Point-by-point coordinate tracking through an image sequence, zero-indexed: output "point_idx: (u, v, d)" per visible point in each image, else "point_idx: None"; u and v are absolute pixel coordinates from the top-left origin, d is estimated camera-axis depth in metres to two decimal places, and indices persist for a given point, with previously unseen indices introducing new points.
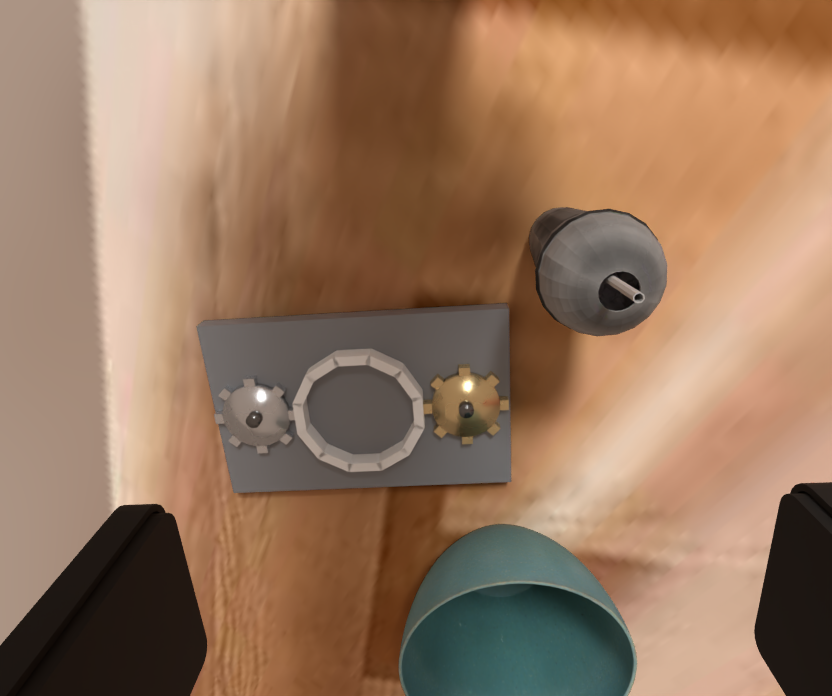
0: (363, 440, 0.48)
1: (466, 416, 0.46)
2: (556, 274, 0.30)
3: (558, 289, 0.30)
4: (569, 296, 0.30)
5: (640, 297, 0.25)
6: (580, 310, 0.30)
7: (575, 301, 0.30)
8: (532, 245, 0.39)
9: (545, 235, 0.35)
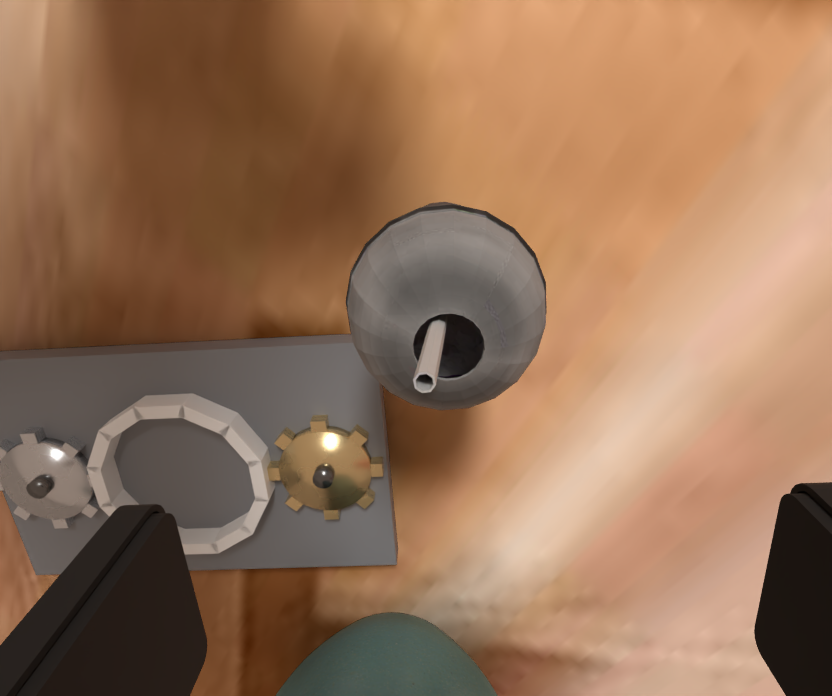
0: (196, 511, 0.36)
1: (323, 486, 0.33)
2: (357, 313, 0.18)
3: (361, 338, 0.18)
4: (375, 350, 0.18)
5: (435, 377, 0.13)
6: (392, 375, 0.18)
7: (383, 360, 0.18)
8: None
9: None
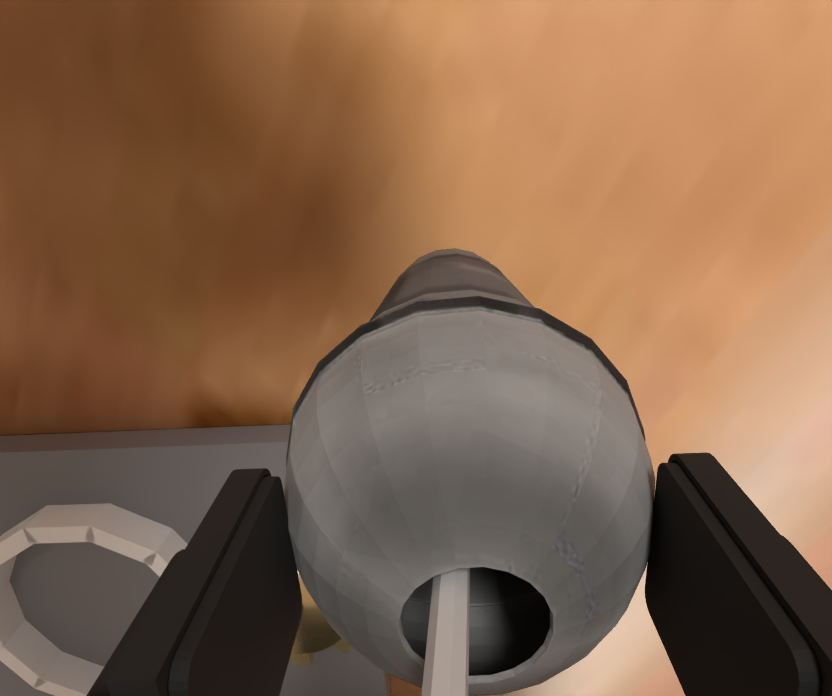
0: None
1: None
2: (293, 516, 0.09)
3: (300, 564, 0.09)
4: (327, 598, 0.09)
5: None
6: (360, 650, 0.09)
7: (340, 624, 0.09)
8: None
9: None
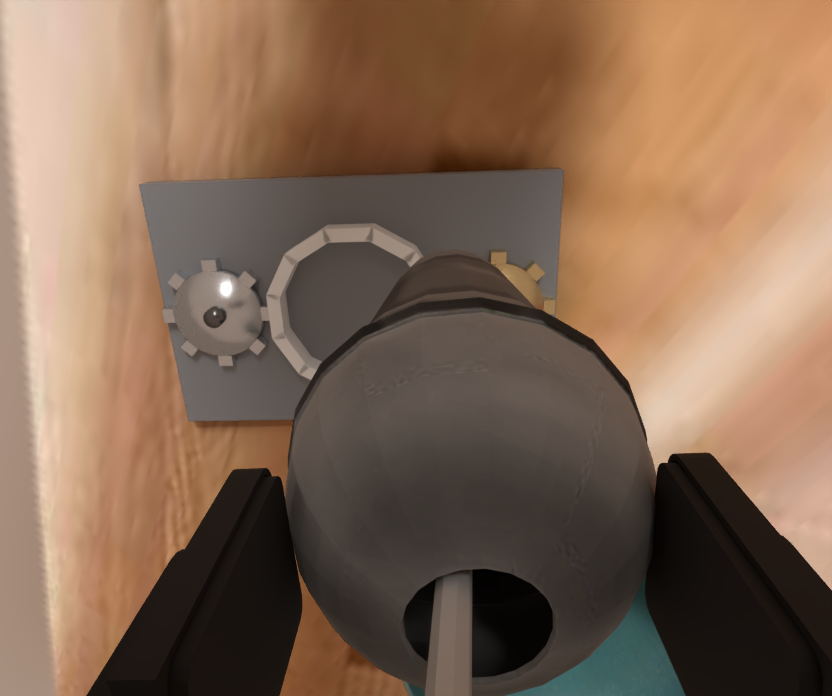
0: None
1: None
2: (295, 517, 0.09)
3: (302, 565, 0.09)
4: (328, 600, 0.09)
5: None
6: (362, 651, 0.09)
7: (342, 625, 0.09)
8: None
9: None
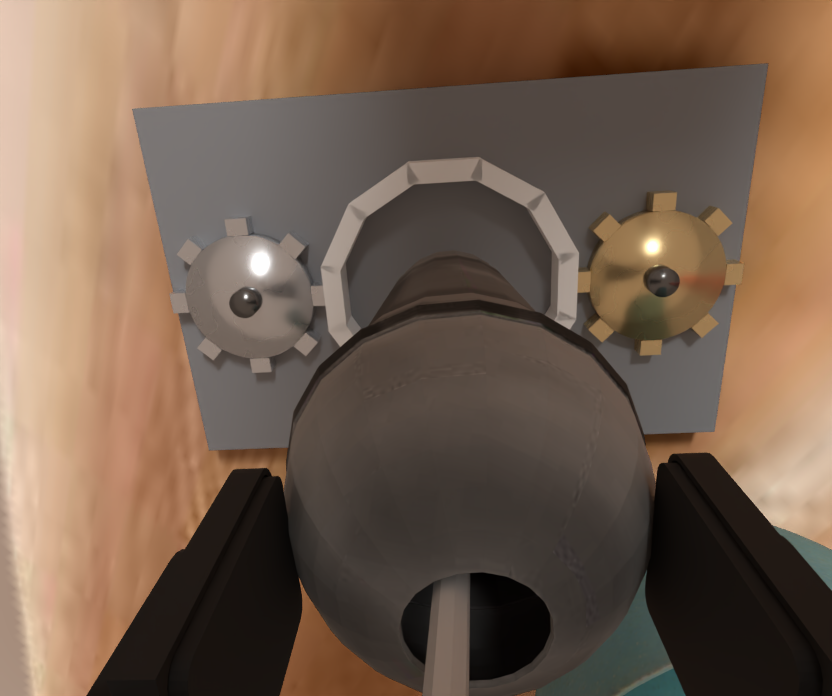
0: None
1: (663, 294, 0.23)
2: (293, 520, 0.09)
3: (300, 568, 0.09)
4: (327, 603, 0.09)
5: None
6: (361, 654, 0.09)
7: (341, 628, 0.09)
8: None
9: None
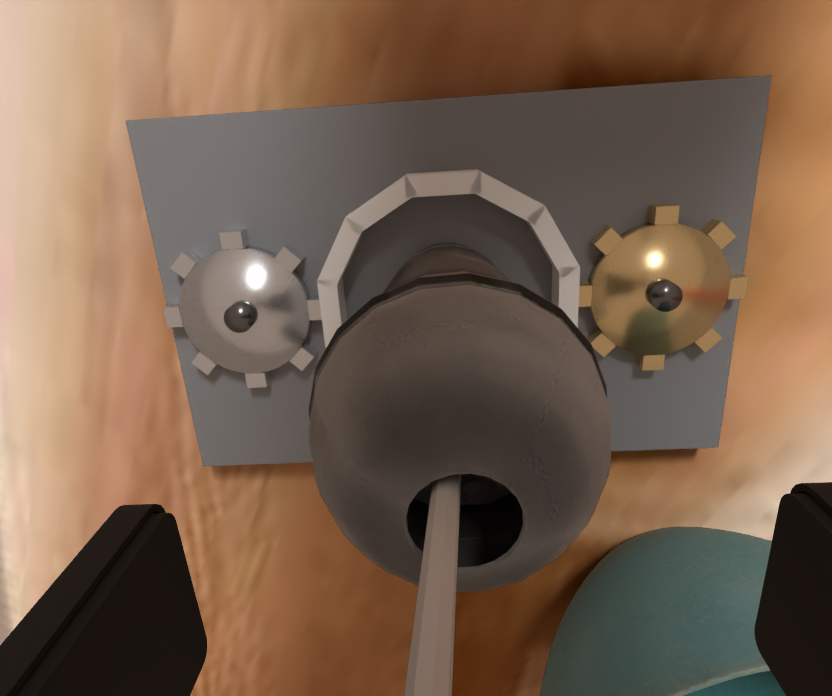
0: None
1: (665, 308, 0.23)
2: (319, 448, 0.12)
3: (324, 487, 0.12)
4: (346, 511, 0.11)
5: None
6: (373, 552, 0.11)
7: (358, 530, 0.11)
8: None
9: None
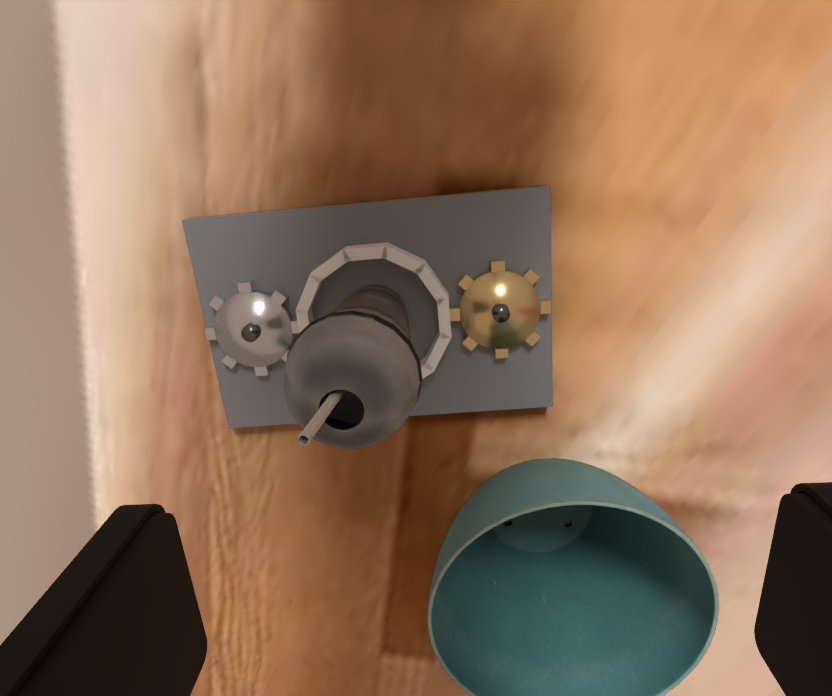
0: None
1: (501, 320, 0.38)
2: (286, 386, 0.27)
3: (289, 403, 0.27)
4: (298, 412, 0.27)
5: (313, 436, 0.22)
6: None
7: (302, 418, 0.27)
8: None
9: None
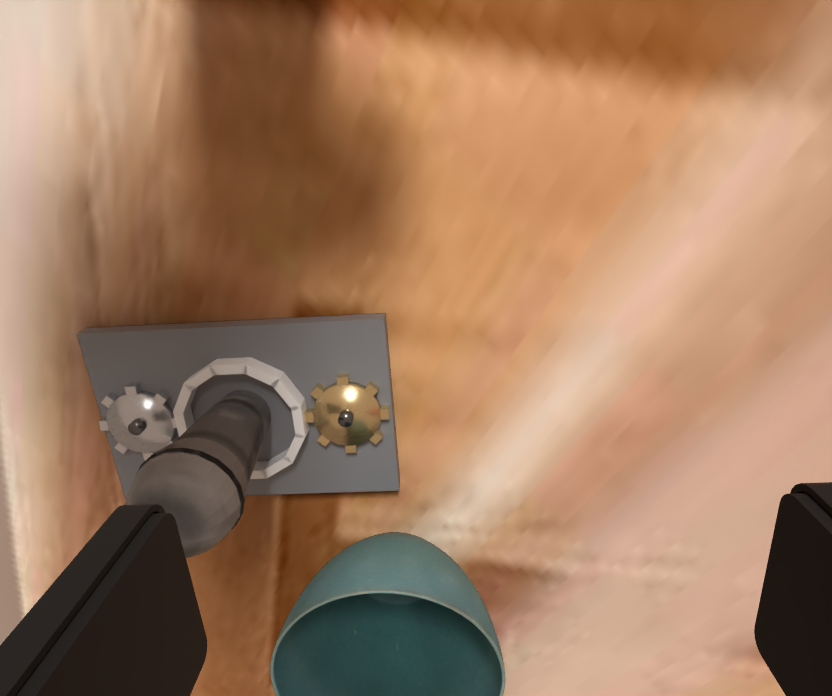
0: None
1: (345, 425, 0.46)
2: None
3: None
4: None
5: None
6: None
7: None
8: None
9: None
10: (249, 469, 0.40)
